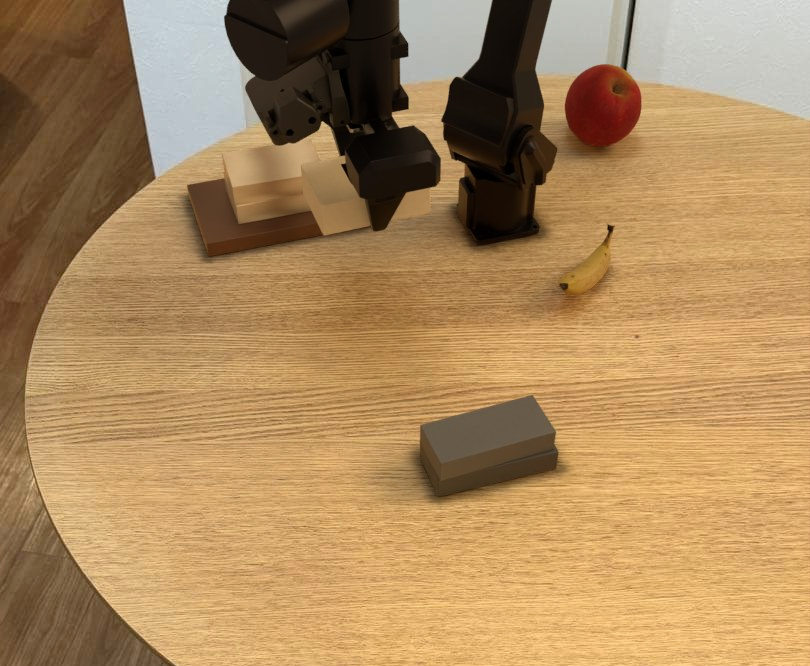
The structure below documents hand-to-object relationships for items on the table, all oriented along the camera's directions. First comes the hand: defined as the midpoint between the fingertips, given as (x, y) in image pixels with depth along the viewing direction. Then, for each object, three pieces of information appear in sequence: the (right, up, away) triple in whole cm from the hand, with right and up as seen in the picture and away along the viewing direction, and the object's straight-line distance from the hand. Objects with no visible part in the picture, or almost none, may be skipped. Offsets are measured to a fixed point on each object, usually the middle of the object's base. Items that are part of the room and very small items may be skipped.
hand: (366, 207), depth 94 cm
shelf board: (-9, +5, +20) cm, 22 cm away
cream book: (0, 0, 0) cm, 0 cm away
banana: (+20, -4, +12) cm, 23 cm away
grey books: (+10, -21, -2) cm, 23 cm away
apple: (+23, +15, +27) cm, 39 cm away
